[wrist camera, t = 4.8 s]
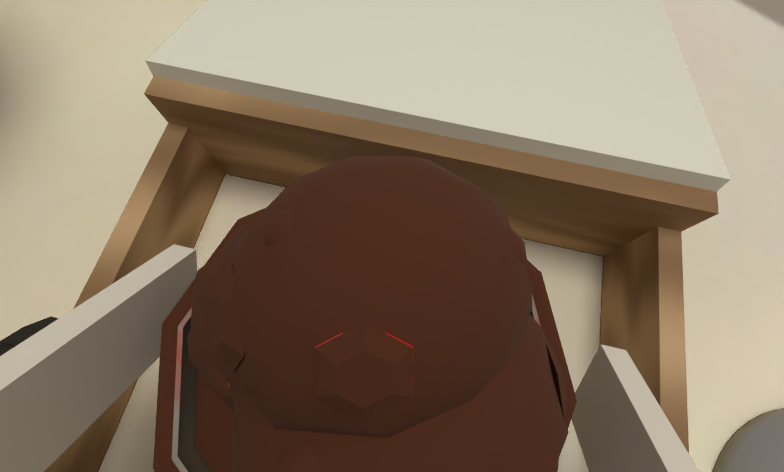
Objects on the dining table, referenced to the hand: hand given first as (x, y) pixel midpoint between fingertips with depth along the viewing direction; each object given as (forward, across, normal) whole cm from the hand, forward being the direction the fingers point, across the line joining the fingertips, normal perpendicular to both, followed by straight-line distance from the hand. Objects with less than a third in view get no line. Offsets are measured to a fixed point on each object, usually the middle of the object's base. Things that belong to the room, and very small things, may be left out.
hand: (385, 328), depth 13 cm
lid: (+18, 0, +8) cm, 19 cm away
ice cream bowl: (+4, 0, -6) cm, 8 cm away
